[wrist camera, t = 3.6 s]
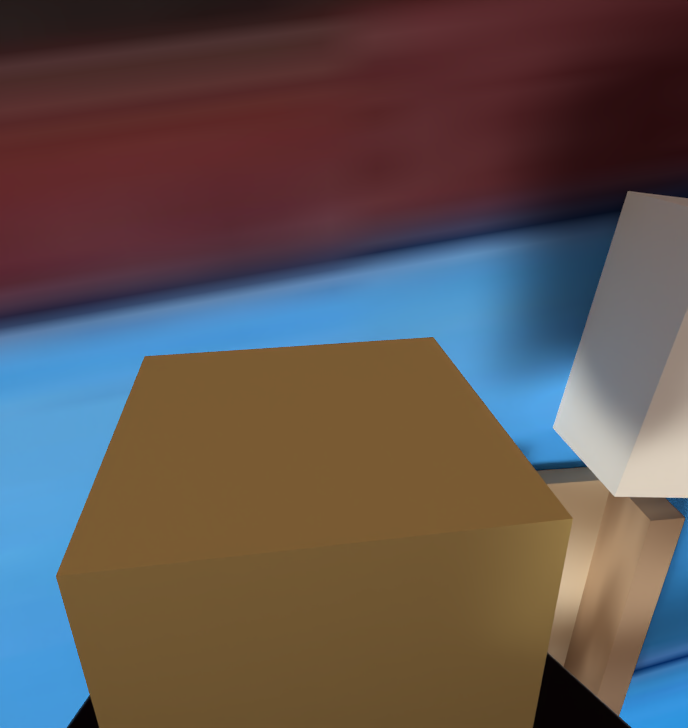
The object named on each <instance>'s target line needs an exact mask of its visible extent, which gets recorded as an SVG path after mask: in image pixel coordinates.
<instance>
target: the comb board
mask: <svg viewBox="0 0 688 728" xmlns="http://www.w3.org/2000/svg"><path fill="white" fill-rule="evenodd" d="M537 473H538V474H539V475H540V476H541V478H542V479H543V480H544V482H545V483H546V484H547V485H548V487H549V488H550V489H551V491H552V492H553V493H554V495H555V496H556V497H557V498H558V500H559V501H560V502H561V504H562V505H563V506H564V508H565V509H566V510H567V511H568V513H569V514H570V515H571V517H572V518H573V521H572V526H571V531H570V536H569V542H568V547H567V552H566V557H565V562H564V568H563V573H562V578H561V583H560V588H559V594H558V599H557V604H556V609H555V614H554V620H553V625H552V630H551V635H550V640H549V646H548V651H547V652H548V653H549V654H550V655H551V656H552V657H553V658H554V659H556V660H557V661H558V662H559V663H560V664H561V665H562V666H563V667H564V668H566V669H567V670H568V671H569V672H570V673H571V674H572V675H573V676H574V677H576V678H577V679H578V680H579V681H580V682H581V683H582V684H583V685H585V686H586V687H587V688H588V689H589V690H590V691H591V692H592V693H593V694H595V695H596V696H597V697H598V698H599V699H600V700H601V701H602V702H603V703H605V704H606V705H607V706H608V707H609V708H610V709H611V710H612V711H613V712H615V713H616V714H617V715H618V716H619V714H620V711H621V708H622V705H623V702H624V699H625V696H626V693H627V690H628V687H629V684H630V681H631V678H632V675H633V672H634V669H635V666H636V663H637V660H638V657H639V654H640V651H641V648H642V645H643V642H644V640H645V637H646V634H647V631H648V628H649V625H650V622H651V619H652V616H653V613H654V610H655V607H656V604H657V601H658V598H659V595H660V592H661V589H662V586H663V583H664V580H665V577H666V574H667V571H668V568H669V565H670V562H671V559H672V556H673V553H674V550H675V547H676V544H677V541H678V538H679V535H680V532H681V529H682V526H683V524H684V521H685V517H684V516H683V515H682V514H681V513H680V512H679V511H678V510H677V509H676V508H675V507H674V506H673V505H672V504H671V503H670V502H669V501H668V500H667V499H666V498H662V497H614V496H613V495H612V493H611V492H610V491H609V490H608V489H607V488H606V487H605V486H604V484H603V483H602V482H601V481H600V480H599V479H598V478H597V477H596V476H595V474H594V473H593V472H592V471H591V470H590V469H589V468H588V467H581V468H567V469H552V470H538V471H537Z"/></svg>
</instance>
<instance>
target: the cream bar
mask: <svg viewBox="0 0 688 728" xmlns="http://www.w3.org/2000/svg"><path fill="white" fill-rule="evenodd" d="M553 429H554V430H555V431H556V432H557V433H558V434H559V435H560V436H561V438H562V439H563V440H564V441H565V442H566V443H567V444H568V445H569V446H570V448H571V449H572V450H573V451H574V452H575V453H576V454H577V455H578V457H579V458H580V459H581V460H582V461H583V462H584V463H585V464H586V465H587V467H588V468H589V469H590V470H591V471H592V472H593V473H594V474H595V476H596V477H597V478H598V479H599V480H600V481H601V482H602V483H603V484H604V486H605V487H606V488H607V489H608V490H609V491H610V492H611V493H612V495H613V496H614V497H662V498H688V198H681V197H672V196H664V195H656V194H648V193H640V192H632V191H628V192H627V195H626V198H625V201H624V205H623V208H622V211H621V214H620V217H619V220H618V224H617V227H616V230H615V233H614V236H613V239H612V242H611V246H610V249H609V252H608V255H607V258H606V261H605V265H604V268H603V271H602V274H601V277H600V280H599V284H598V287H597V290H596V293H595V296H594V299H593V303H592V306H591V309H590V312H589V315H588V318H587V322H586V325H585V328H584V331H583V334H582V337H581V341H580V344H579V347H578V350H577V353H576V356H575V360H574V363H573V366H572V369H571V372H570V375H569V379H568V382H567V385H566V388H565V391H564V394H563V398H562V401H561V404H560V407H559V410H558V413H557V416H556V420H555V423H554V426H553Z"/></svg>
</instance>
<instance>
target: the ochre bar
mask: <svg viewBox="0 0 688 728" xmlns="http://www.w3.org/2000/svg"><path fill="white" fill-rule="evenodd" d="M572 521H573V518H572V517H571V515H570V514H569V513H568V511H567V510H566V509H565V508H564V506H563V505H562V504H561V502H560V501H559V500H558V498H557V497H556V496H555V495H554V493H553V492H552V491H551V489H550V488H549V487H548V485H547V484H546V483H545V482H544V480H543V479H542V478H541V476H540V475H539V474H538V473H537V471H536V470H535V469H534V467H533V466H532V465H531V463H530V462H529V461H528V460H527V458H526V457H525V456H524V454H523V453H522V452H521V450H520V449H519V448H518V447H517V445H516V444H515V443H514V441H513V440H512V439H511V437H510V436H509V435H508V434H507V432H506V431H505V430H504V428H503V427H502V426H501V425H500V423H499V422H498V421H497V419H496V418H495V417H494V415H493V414H492V413H491V412H490V410H489V409H488V408H487V406H486V405H485V404H484V402H483V401H482V400H481V399H480V397H479V396H478V395H477V393H476V392H475V391H474V390H473V388H472V387H471V386H470V384H469V383H468V382H467V380H466V379H465V378H464V377H463V375H462V374H461V373H460V371H459V370H458V369H457V367H456V366H455V365H454V364H453V362H452V361H451V360H450V358H449V357H448V356H447V355H446V353H445V352H444V351H443V349H442V348H441V347H440V345H439V344H438V343H437V342H436V340H435V339H434V338H433V337H429V338H414V339H399V340H384V341H369V342H354V343H339V344H324V345H309V346H294V347H279V348H264V349H249V350H234V351H218V352H203V353H188V354H173V355H158V356H145V357H144V360H143V362H142V365H141V367H140V369H139V372H138V374H137V377H136V379H135V382H134V384H133V387H132V389H131V392H130V394H129V397H128V399H127V402H126V404H125V407H124V409H123V412H122V414H121V417H120V419H119V421H118V424H117V426H116V429H115V431H114V434H113V436H112V439H111V441H110V444H109V446H108V449H107V451H106V454H105V456H104V459H103V461H102V464H101V466H100V468H99V471H98V473H97V476H96V478H95V481H94V483H93V486H92V488H91V491H90V493H89V496H88V498H87V501H86V503H85V506H84V508H83V511H82V513H81V516H80V518H79V520H78V523H77V525H76V528H75V530H74V533H73V535H72V538H71V540H70V543H69V545H68V548H67V550H66V553H65V555H64V558H63V560H62V563H61V565H60V568H59V570H58V572H57V575H56V578H57V582H58V585H59V589H60V592H61V596H62V599H63V603H64V606H65V609H66V613H67V617H68V620H69V623H70V627H71V630H72V634H73V637H74V641H75V644H76V648H77V651H78V655H79V658H80V662H81V665H82V669H83V672H84V676H85V679H86V683H87V686H88V690H89V693H90V697H91V700H92V704H93V707H94V711H95V714H96V718H97V721H98V725H99V728H533V724H534V718H535V713H536V708H537V703H538V698H539V692H540V687H541V682H542V677H543V672H544V666H545V661H546V656H547V651H548V646H549V640H550V635H551V630H552V625H553V620H554V614H555V609H556V604H557V599H558V594H559V588H560V583H561V578H562V573H563V568H564V562H565V557H566V552H567V547H568V542H569V536H570V531H571V526H572Z"/></svg>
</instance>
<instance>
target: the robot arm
mask: <svg viewBox="0 0 688 728" xmlns="http://www.w3.org/2000/svg"><path fill="white" fill-rule="evenodd" d="M67 728H99V725H98V721H97V718H96V714H95V711H94V707H93V704H92V700H91V697H90V695H89V697H88V698H87V700H86V701H85V702H84V704H83V705H82V707H81V708H80V710H79V711H78V712H77V714H76V715H75V717H74V718H73V719H72V721H71V722H70V724H69V725H68V727H67ZM533 728H631V727H630V726H629V725H628V724H627V723H626V722H625V721H623V720H622V719H621V718H620V717H619V716H618V715H617V714H616V713H615V712H613V711H612V710H611V709H610V708H609V707H608V706H607V705H606V704H605V703H603V702H602V701H601V700H600V699H599V698H598V697H597V696H596V695H595V694H593V693H592V692H591V691H590V690H589V689H588V688H587V687H586V686H585V685H583V684H582V683H581V682H580V681H579V680H578V679H577V678H576V677H574V676H573V675H572V674H571V673H570V672H569V671H568V670H567V669H566V668H564V667H563V666H562V665H561V664H560V663H559V662H558V661H557V660H556V659H554V658H553V657H552V656H551V655H550V654H549V653H548V652H547V656H546V661H545V666H544V672H543V677H542V682H541V687H540V692H539V698H538V703H537V708H536V713H535V718H534V724H533Z"/></svg>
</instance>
